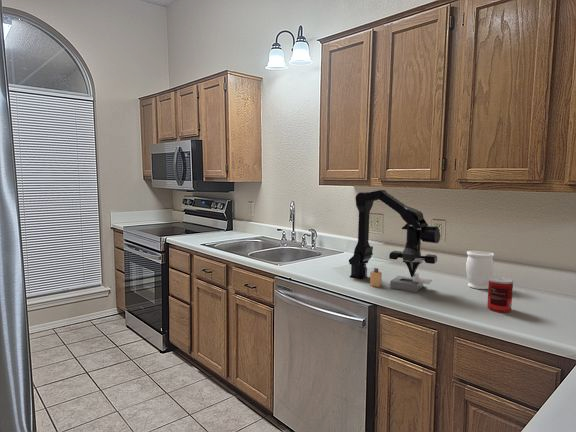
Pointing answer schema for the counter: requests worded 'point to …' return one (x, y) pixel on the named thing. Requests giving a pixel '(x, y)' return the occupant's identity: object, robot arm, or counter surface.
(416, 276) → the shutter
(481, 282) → the jar
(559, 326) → the counter surface
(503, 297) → the canned food
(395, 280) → the socket
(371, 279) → the plug
